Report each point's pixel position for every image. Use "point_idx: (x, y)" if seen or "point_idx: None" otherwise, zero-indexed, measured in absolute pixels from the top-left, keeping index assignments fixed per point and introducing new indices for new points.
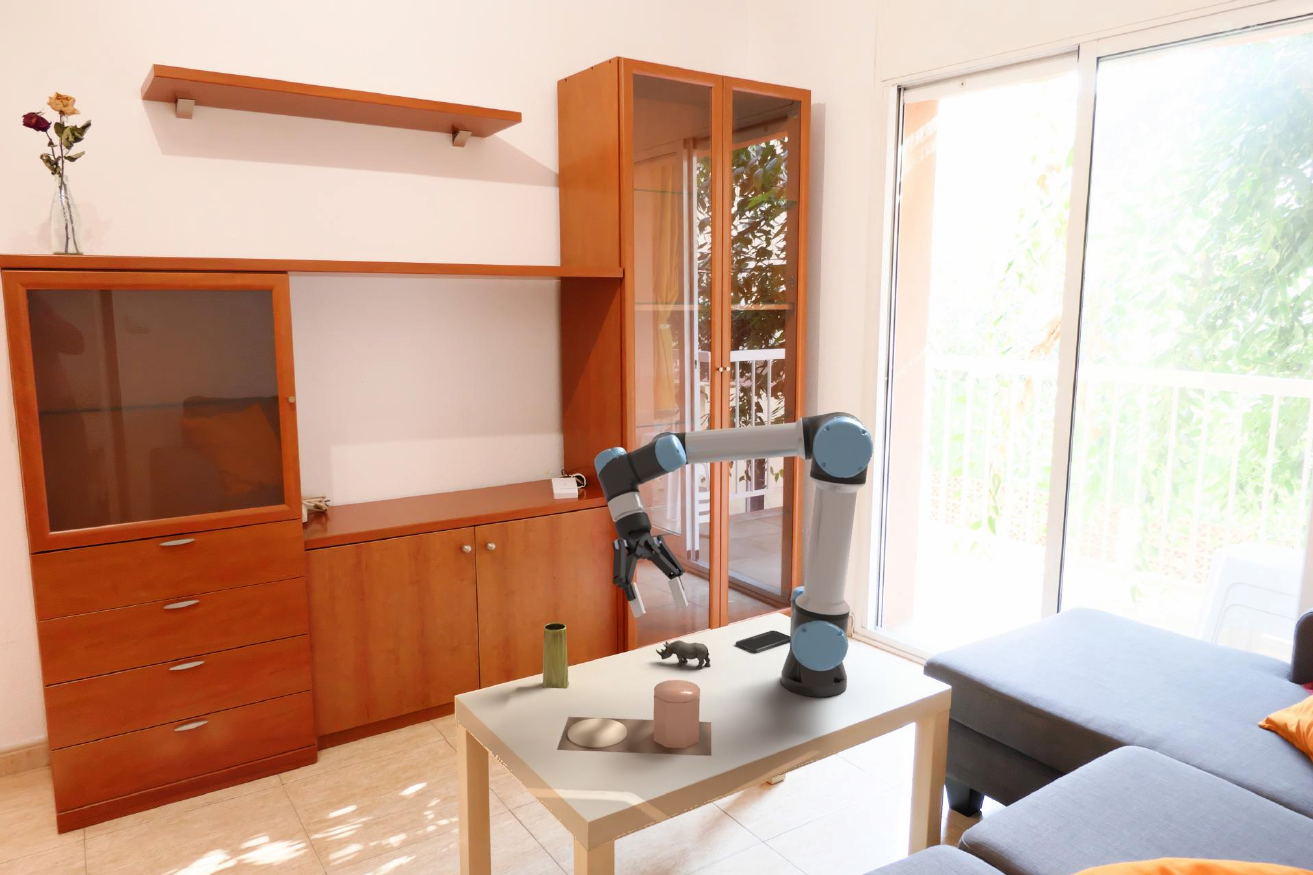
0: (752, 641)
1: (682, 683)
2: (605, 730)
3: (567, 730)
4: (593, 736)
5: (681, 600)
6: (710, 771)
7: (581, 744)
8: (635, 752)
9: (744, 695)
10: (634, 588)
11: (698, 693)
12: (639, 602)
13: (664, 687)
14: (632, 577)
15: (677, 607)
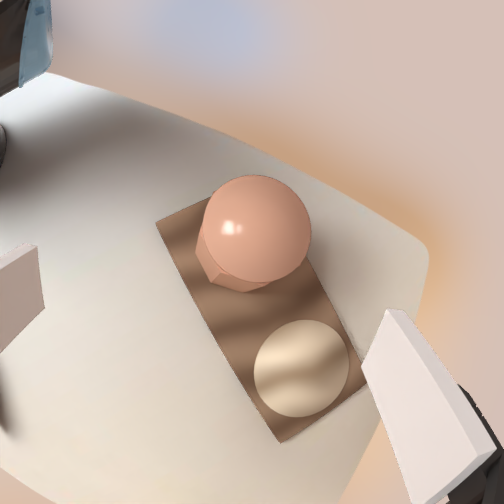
0: None
1: (221, 231)
2: (293, 362)
3: (319, 412)
4: (320, 364)
5: (17, 281)
6: (283, 170)
7: (348, 360)
8: (318, 280)
9: (25, 231)
10: (473, 420)
11: (250, 175)
12: (429, 350)
13: (266, 257)
14: (498, 493)
15: (37, 310)
